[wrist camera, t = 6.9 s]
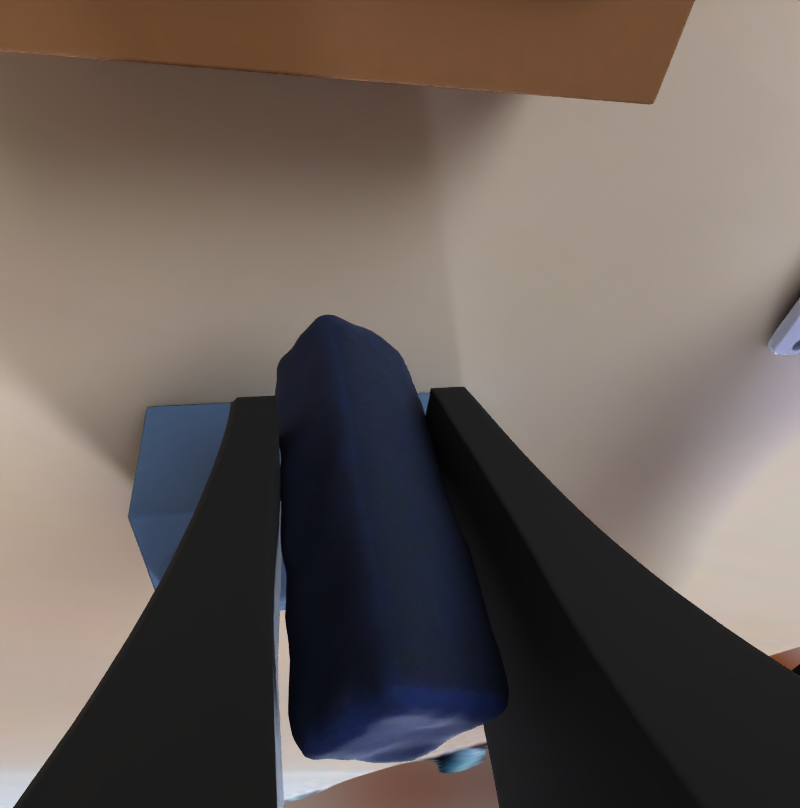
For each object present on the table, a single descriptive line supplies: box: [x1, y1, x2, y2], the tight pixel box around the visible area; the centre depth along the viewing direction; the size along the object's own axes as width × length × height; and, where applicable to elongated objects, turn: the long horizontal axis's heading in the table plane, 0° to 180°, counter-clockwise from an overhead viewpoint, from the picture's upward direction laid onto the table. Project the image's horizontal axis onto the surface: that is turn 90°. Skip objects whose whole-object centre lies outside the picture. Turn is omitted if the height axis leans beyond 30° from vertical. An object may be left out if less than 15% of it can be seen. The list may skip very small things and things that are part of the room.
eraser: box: [275, 315, 509, 763], centre depth 9 cm, size 2×2×7 cm
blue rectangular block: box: [128, 393, 430, 611], centre depth 18 cm, size 10×6×5 cm, turn 83°
